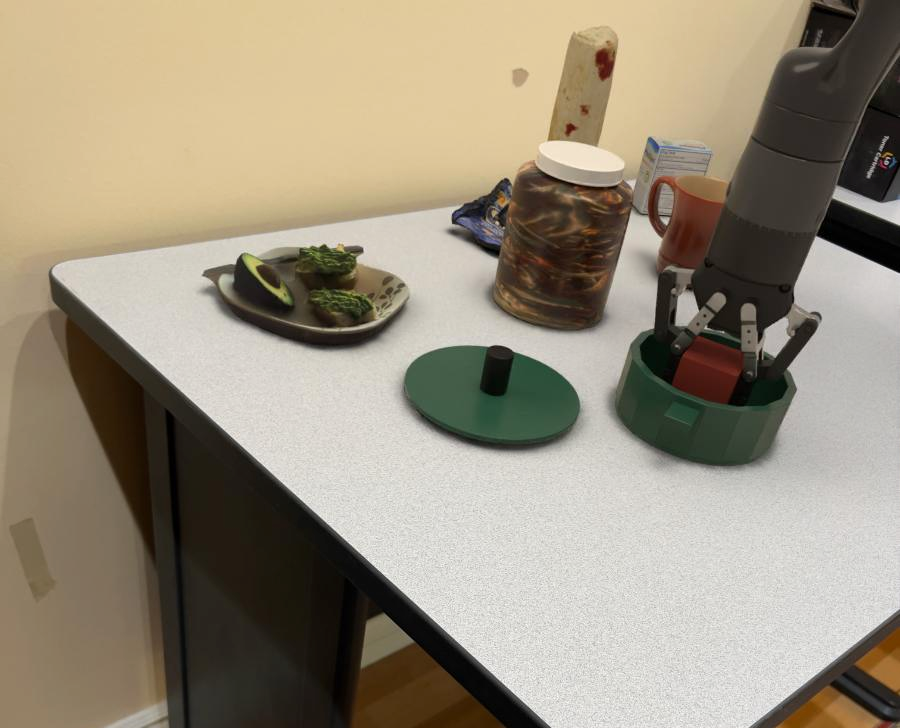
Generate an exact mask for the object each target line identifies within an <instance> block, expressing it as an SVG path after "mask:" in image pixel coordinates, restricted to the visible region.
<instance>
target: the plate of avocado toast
mask: <svg viewBox="0 0 900 728" xmlns="http://www.w3.org/2000/svg"><path fill="white" fill-rule="evenodd" d="M336 245H337V246H336V247H331V248H330V247H329V246H328V244H326V243H322V244H321V245H319V246H317V245H316V246H315V245H311V246H310V247H306V246H279V247H273V248H271V249H269V250H267V251H265V252H262V253H261V254H259V255H257V256H255V255H253V254H251V253H248V252H243V253H240V255H239V256H238V257H237V258H236V262H235V264H233V263H228V264H223V265H220V266H216V267H211V268H207V269H205V270H203V272H202V274H201V277H203V278H206V279H208V280H210V281H211V282H212V283H213V284H214V285H215V286H216V288H217V291H218V293H219V295H220V297H221V298H222V299H223V301H224V303H225V304H226V305H227V306H228V308H229V309H230V310H231V312H232V313H233V314H234V315H235V316H237V317H238V318H239V319H241V320H242V321H245V322H247V323H249V324H252V325H254V326H257V327H258V328H261V329H264V330H266V331H268V332H271V333H274V334H276V335H278V336H280V337H284V338H287V339H290V340H294V341H298V342H302V343H306V344H314V345H321V346H344V345H348V344H352V343H355V342H357V341H360V340H362V339H364V338H366V337H369V336H370V335H373V334H375V333H377V332H378V331H380V330H382V329H383V327H384V326H385V324H386V322H388V321H389V320H390V319H392V318H393V317H394V316H395V315H397V313H398V312H399V311H400V310H401V309H402V307H403V306H404V305H405V303H407V301H409V299H410V297H411V291H410V287H409V285H408V284H407V283H406V282H405V281H404V280H403V279H402V277H400V276H398V275H396V274H394V273H391V272H389V271H385V270H382V269H378V268H374V267H371V266H368V265H364V264H361V263H359V262H358V260H357V258H358V257H360V256H362V255H363V254H364V252H365V251H364V247H363V246H361V245H357V244H356V245H346V246H345V245H344V244H342V243H338V244H336Z"/></svg>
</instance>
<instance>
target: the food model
mask: <svg viewBox="0 0 900 728" xmlns="http://www.w3.org/2000/svg"><path fill="white" fill-rule="evenodd" d="M618 46H619V36H618V34H617V33H616V31H614V30H613V29H612V28H611V26H609V25H600V26H592V27H588V28H587V29H585V30H579V31H578V32H577V33H576V31H573V32H572V34H571V35H570V39H569V41H568V44H567V49H566V53H565V59H564V63H563V67H562V72H561V76H560V81H559V85H558V89H557V93H556V97H555V102H554V104H553V109H552V114H551V119H550V125H549V129H548V130H549V131H548V136H547V140H546V142H548V141H571V142H578V143H583V144H587V145H591V146H595V147H598V146H599V142H600V140H601V139H600V138H601V136H602V133H603V132H602V131H603V127H604V122H605V117H606V113H607V109H608V103H609V99H610V95H611V91H612V90H611V89H612V85H613V78H614V71H615V67H616V60H617V54H618V48H619V47H618Z"/></svg>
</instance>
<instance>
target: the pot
mask: <svg viewBox="0 0 900 728" xmlns="http://www.w3.org/2000/svg"><path fill="white" fill-rule="evenodd" d="M676 326H677V327H678V328H679V329H680V330H682V331H683V330H684V329H685V328H686V326H687V325H676ZM698 336H700V337H703V338H706V339H708V340H711V341H714V342H717V343H719V344H722V345H725V346H728V347H731V348H733V349H736V350H739V351H741V340H740V339H737V338H734V337H732V336H731V335H729V334H728V333H726V332H724V331H715V330H712V329H709V328H704V329H703V330H702V331H701V332H700V333H699V334H698ZM696 338H697V337H696ZM696 338H695V339H696ZM695 339H694V340H695ZM694 340H693V341H692V342H691V344H692V343H693V342H694ZM691 344H690V345H691ZM689 347H690V346H689ZM669 354H670V349H669V347H668V346H667V345H666V344H665V343H664V342H663V341H661V342H660V341H657V340H656V339H655V338H654V327H653V328H650V329H646V330H644V331H641V332H639V334H638V335H637V336H636V337H635V338H634V339H633V340H632V341H631V343H630V345H629V348H628V351H627V354H626V358H625V360H624V364H623V367H622V370H621V373H620V377H619V380H618V382H617V387H616V390H615V398H614V408H615V411H616V414H617V416H618V417H619V419H620V421H621V422H622V424H623V425H624V426H625V427H626V428H627V429H628V430H629V431H630V432H631V433H633V434H634V435H635V436H636V437H638V438H639V439H640V440H642V441H643V442H645V443H646V444H648V445H650V446H652V447H653V448H655V449H656V450H658V451H661V452H664V453H666V454H669V455H671V456H672V457H676V458H679V459H683V460H686V461H690V462H693V463H698V464H704V465H711V466H721V467H723V466H725V467H726V466H727V467H729V466H741V465H745V464H750V463H753V462H755V461H757V460H759V459H761V458H763V457H764V456H766V454H767V453H768V452H769V450H770V449H771V446H772V445H773V443H774V441H775V439H776V436H777V435H778V432H779V430H780V428H781V425H782V423H783V421H784V419H785V417H786V415H787V413H788V410H789V408H790V406H791V404H792V402H793V399H795V396H796V394H797V391H798V388H797V385H796V382H795V380H794V377H793V375H792V372H791V371H790V370H789V369H788V368H787V369H786V371H785V372H784V373H783V375H782V376H781V377H780V378H779V380H778V381H776V382H769V381H768V380H758V381H756V382H755V385H754V387H753V389H752V392H751V394H750V396H749V399H748V401H747V403H746V405H745V406H742V407H737V406H732V405H726V404H721V403H715V402H710V401H706V400H704V399H701V398H698V397H696V396H693V395H690V394H688V393H685V392H682V391H680V390H677V389H676V388H674V387H673V386H671V385H670V384H668V383H666V382H665V381H663V380H662V379H661V377H662V375H663V372H664V369H665V366H666V363H667V360H668V357H669ZM775 358H776V356H774V355H772V354H770V353H769V352H767V351H765V350H763V360H774V359H775Z"/></svg>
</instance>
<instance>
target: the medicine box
mask: <svg viewBox="0 0 900 728" xmlns="http://www.w3.org/2000/svg"><path fill="white" fill-rule="evenodd" d="M643 150H644V151H643V154H642V158H641V162H640V165H639V169H638V172H637V176H636V179H635V182H634V186H633V193H634V199H633V205H632V206H634V208H635V209H636V210H637V211H638V212H639V213H640V214H643V215H648V198H649V193H650V190H651V187H652V185H653V183H654V181H655V180H656V179H658V178H659V177H662V176H672V177H675V178H676V177H678V176H681V175H690V174H691V175H702V176H708V175H707V174H708V171H709V168H710V165H711V162H712V160H713V157H714V152H713V151H712V150H711V148H709V146H707V145H706V144H705V143H704V142H702V141H701V140H695V139H687V138H685V139H684V138H675V137H663V136H651V135H650V136H647V140H646V144H645V147H644V149H643ZM673 198H674V193H673V192H672V190H671V188H670V186H668V185H667V184H665V183H664V185H663V187H662V189H661V193H660V197H659V204H658V212H659V216H671V212H672V207H673Z"/></svg>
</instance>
